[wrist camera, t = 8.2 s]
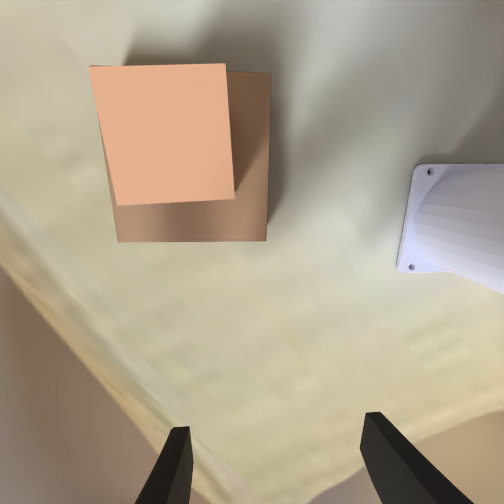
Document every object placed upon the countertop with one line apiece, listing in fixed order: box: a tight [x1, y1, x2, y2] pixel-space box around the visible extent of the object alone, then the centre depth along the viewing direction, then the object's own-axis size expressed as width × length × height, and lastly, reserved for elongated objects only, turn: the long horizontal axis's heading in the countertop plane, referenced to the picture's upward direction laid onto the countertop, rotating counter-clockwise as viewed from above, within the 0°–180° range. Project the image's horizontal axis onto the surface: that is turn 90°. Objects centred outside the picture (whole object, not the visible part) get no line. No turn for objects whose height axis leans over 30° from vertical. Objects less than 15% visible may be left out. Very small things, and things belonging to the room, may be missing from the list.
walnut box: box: [90, 65, 271, 242], centre depth 15 cm, size 9×9×3 cm
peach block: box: [88, 63, 235, 206], centre depth 11 cm, size 4×4×5 cm
